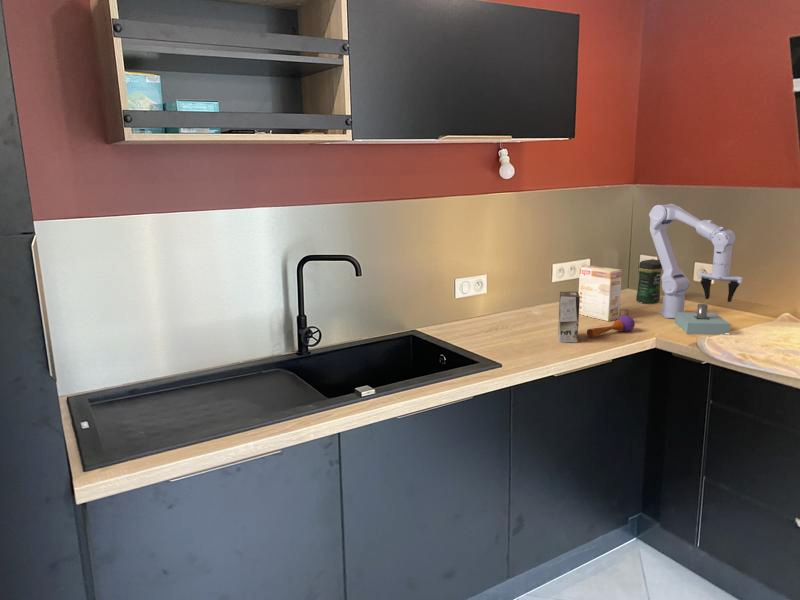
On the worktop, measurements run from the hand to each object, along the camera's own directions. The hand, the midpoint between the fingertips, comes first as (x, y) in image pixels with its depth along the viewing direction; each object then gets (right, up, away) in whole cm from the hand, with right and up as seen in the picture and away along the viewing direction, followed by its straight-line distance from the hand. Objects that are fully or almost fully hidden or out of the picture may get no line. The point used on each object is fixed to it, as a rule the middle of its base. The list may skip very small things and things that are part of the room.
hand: (718, 300), depth 231 cm
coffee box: (-59, -14, -12) cm, 62 cm away
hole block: (-8, -10, -3) cm, 13 cm away
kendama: (-42, -12, -7) cm, 44 cm away
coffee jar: (-10, -1, +40) cm, 41 cm away
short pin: (-32, -9, +7) cm, 34 cm away
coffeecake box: (-39, -7, +17) cm, 43 cm away
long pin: (-8, -10, -3) cm, 13 cm away
